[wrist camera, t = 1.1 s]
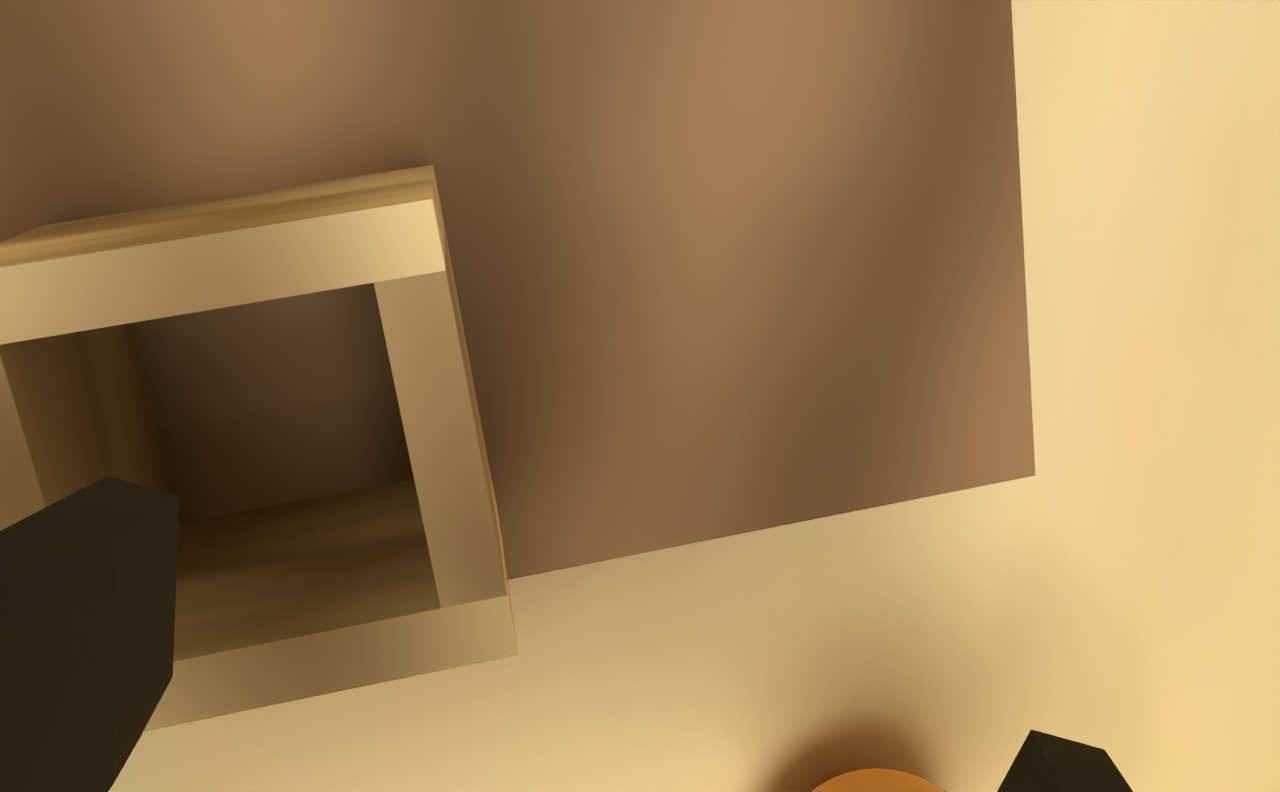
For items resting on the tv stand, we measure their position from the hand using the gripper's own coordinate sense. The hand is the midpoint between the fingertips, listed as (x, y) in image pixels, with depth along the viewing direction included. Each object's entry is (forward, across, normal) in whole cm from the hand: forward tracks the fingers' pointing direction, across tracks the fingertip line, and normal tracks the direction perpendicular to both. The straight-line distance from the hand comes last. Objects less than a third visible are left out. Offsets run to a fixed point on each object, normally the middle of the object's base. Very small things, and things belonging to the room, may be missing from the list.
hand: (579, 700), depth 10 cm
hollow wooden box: (+8, +6, +3) cm, 10 cm away
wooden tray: (+10, +4, 0) cm, 11 cm away
